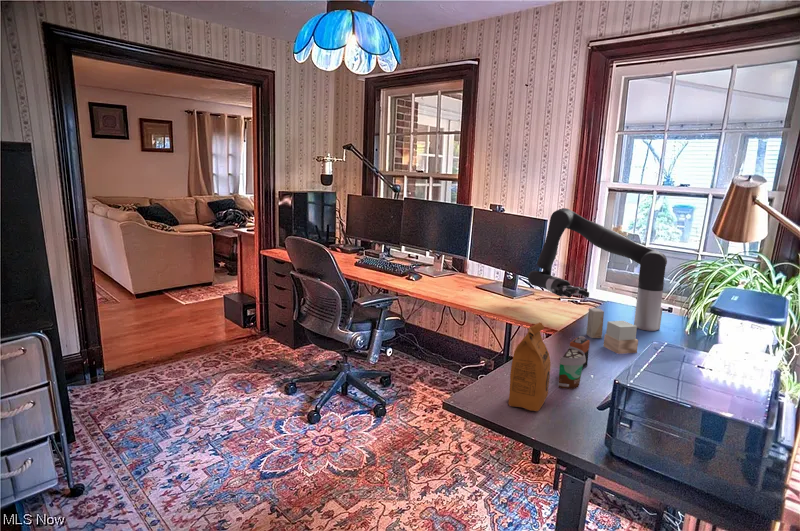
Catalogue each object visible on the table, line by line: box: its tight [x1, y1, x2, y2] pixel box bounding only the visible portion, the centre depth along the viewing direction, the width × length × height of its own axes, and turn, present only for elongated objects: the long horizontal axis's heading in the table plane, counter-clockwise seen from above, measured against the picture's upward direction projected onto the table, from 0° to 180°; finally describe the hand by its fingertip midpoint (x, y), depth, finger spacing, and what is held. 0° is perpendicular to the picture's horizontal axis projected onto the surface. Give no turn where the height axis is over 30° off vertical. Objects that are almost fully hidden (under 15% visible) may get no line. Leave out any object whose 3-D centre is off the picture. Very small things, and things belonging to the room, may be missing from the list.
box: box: [586, 307, 605, 339], centre depth 182 cm, size 5×4×11 cm
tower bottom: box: [603, 333, 639, 355], centre depth 168 cm, size 8×8×5 cm
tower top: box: [605, 320, 638, 341], centre depth 167 cm, size 7×7×5 cm
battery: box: [569, 335, 590, 370], centre depth 150 cm, size 4×7×10 cm, turn 139°
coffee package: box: [507, 322, 552, 412], centre depth 123 cm, size 10×12×22 cm
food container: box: [557, 345, 586, 390], centre depth 136 cm, size 12×6×10 cm, turn 148°
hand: (579, 295), depth 191 cm, fingers open, 8 cm apart
